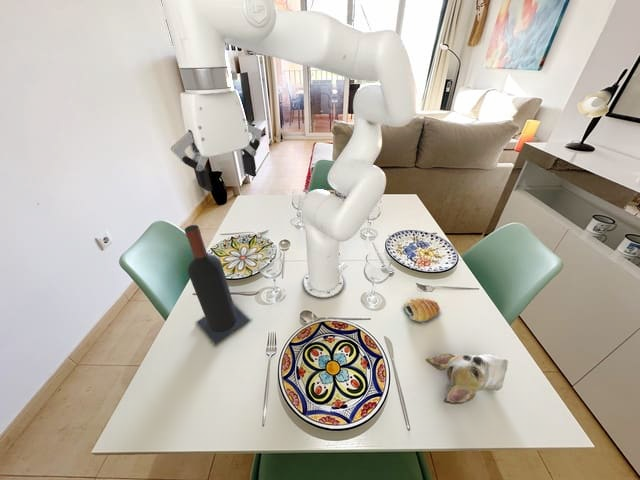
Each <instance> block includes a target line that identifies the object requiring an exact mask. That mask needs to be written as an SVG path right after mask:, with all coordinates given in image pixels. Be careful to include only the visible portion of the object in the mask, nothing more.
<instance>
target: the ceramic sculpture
mask: <svg viewBox="0 0 640 480" xmlns="http://www.w3.org/2000/svg"><path fill="white" fill-rule="evenodd" d="M424 360H425V362H426V363H428V364H429V365H431V366H432V367H433V368H435V369H437V370H438V371H445V370H446V374H447V375H446V376H447V379H448V381H449V382H450V383H451V386H450V387H449V388H448V389H447V391H446V395H445V397H444V399H443V401H442V402H443V403H444V404H449V405H463V404H466V403H468V402H470V401H472V400H473V399H474V398H475V397H476V395H477V392H479V391H483V390H485V389H489V390H492V391H495V392H496V391H500V390H501V389H502V388H503V386H504V380H505V376H506V373H507V370H508V364H509V361H508V360H507V359H506V358H502V357H498V356H496V355H494V354H493V355H492V354H478V355H477V354H467V353H465V354H462V355H455V354H453V353H452V354H451V353H441V354H439V355H436V356H433V357H431V358H425V359H424Z"/></svg>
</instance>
